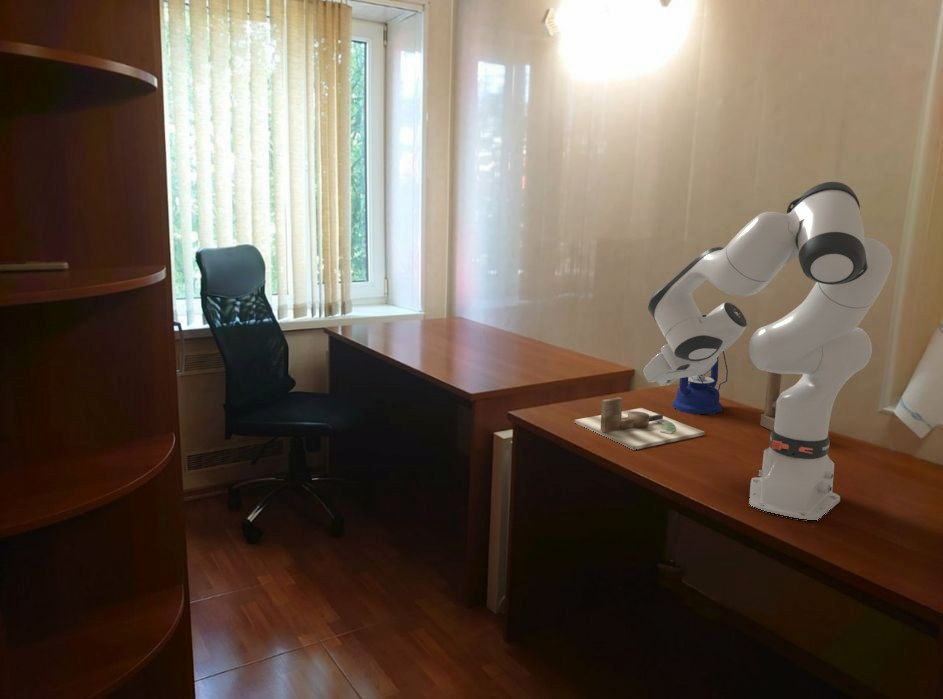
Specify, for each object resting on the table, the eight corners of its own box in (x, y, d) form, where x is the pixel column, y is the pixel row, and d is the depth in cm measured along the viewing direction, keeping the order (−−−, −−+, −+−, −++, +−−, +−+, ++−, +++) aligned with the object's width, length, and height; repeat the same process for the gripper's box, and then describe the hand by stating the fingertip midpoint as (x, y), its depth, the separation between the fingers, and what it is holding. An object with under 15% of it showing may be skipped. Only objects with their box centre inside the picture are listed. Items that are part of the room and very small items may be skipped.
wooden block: (784, 437, 199) (791, 375, 195) (759, 425, 209) (765, 366, 206) (795, 436, 200) (802, 374, 196) (770, 424, 210) (775, 365, 207)
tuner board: (633, 450, 189) (633, 445, 189) (574, 423, 211) (574, 418, 211) (704, 435, 201) (704, 430, 201) (641, 410, 223) (641, 406, 223)
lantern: (695, 398, 238) (702, 309, 231) (734, 409, 225) (742, 316, 219) (660, 406, 229) (665, 314, 222) (698, 418, 216) (705, 321, 210)
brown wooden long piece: (609, 434, 197) (610, 403, 195) (595, 428, 202) (596, 398, 200) (668, 422, 207) (670, 393, 206) (654, 417, 213) (656, 388, 211)
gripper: (717, 338, 179) (685, 368, 189) (658, 345, 169) (627, 377, 179) (730, 359, 176) (697, 388, 186) (671, 367, 166) (639, 398, 176)
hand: (662, 383), depth 183 cm, fingers closed
